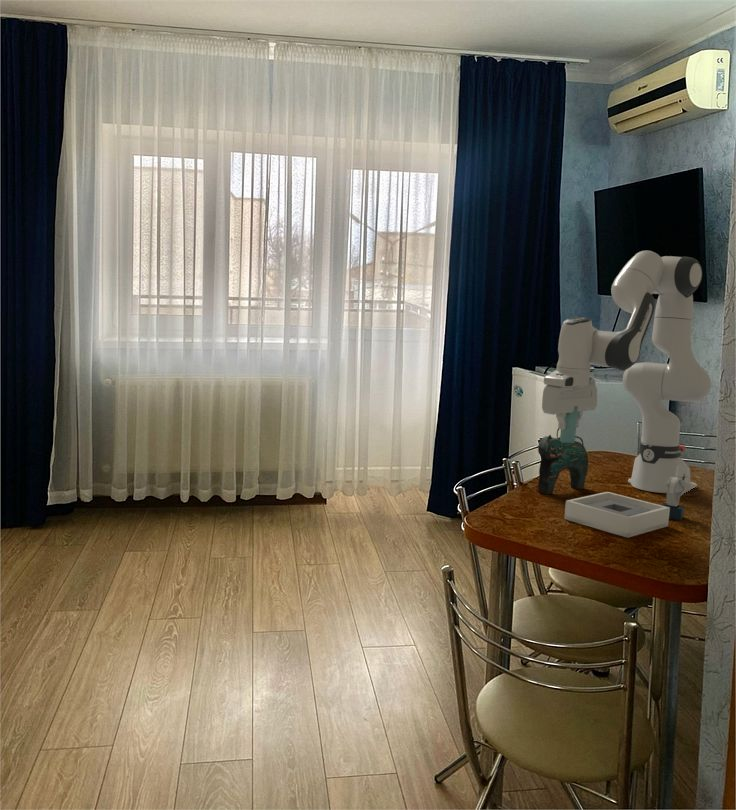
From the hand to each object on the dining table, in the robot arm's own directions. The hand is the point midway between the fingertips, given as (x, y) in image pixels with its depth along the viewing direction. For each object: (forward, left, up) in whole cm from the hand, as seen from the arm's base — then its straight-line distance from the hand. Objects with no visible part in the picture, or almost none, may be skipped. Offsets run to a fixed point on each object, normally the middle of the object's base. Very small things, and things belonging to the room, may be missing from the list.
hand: (568, 428), depth 228 cm
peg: (0, 0, -4) cm, 4 cm away
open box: (-2, +16, -23) cm, 28 cm away
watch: (-21, +21, -23) cm, 38 cm away
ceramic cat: (-18, -14, -23) cm, 32 cm away
